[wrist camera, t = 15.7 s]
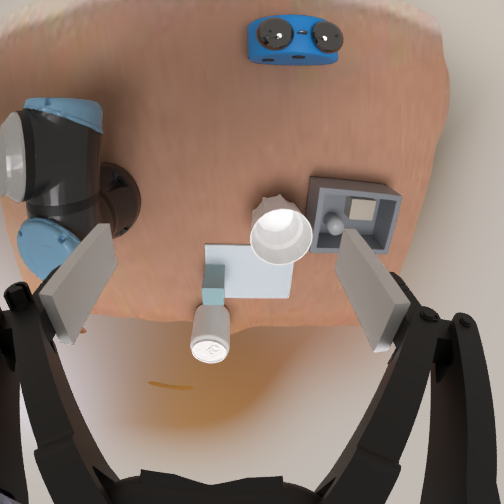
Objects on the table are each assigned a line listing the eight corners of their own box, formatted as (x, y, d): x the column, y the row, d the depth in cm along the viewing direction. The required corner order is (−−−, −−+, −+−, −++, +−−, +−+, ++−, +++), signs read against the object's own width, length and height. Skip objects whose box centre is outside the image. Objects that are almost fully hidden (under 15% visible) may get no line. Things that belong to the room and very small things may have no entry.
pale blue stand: (207, 294, 63) (204, 322, 56) (205, 242, 57) (200, 267, 49) (287, 295, 65) (294, 322, 57) (295, 244, 58) (303, 268, 50)
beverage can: (188, 311, 65) (181, 349, 55) (214, 294, 63) (210, 333, 53) (211, 330, 69) (208, 369, 58) (237, 316, 66) (237, 355, 56)
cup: (237, 221, 55) (237, 246, 46) (268, 179, 51) (275, 196, 42) (279, 246, 58) (286, 274, 49) (310, 208, 54) (324, 230, 45)
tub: (302, 235, 57) (310, 252, 51) (309, 176, 51) (319, 187, 45) (373, 237, 58) (387, 254, 52) (385, 184, 52) (402, 196, 46)
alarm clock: (322, 37, 38) (353, 17, 25) (323, 68, 41) (356, 58, 28) (245, 34, 37) (249, 8, 24) (247, 66, 41) (251, 52, 28)
